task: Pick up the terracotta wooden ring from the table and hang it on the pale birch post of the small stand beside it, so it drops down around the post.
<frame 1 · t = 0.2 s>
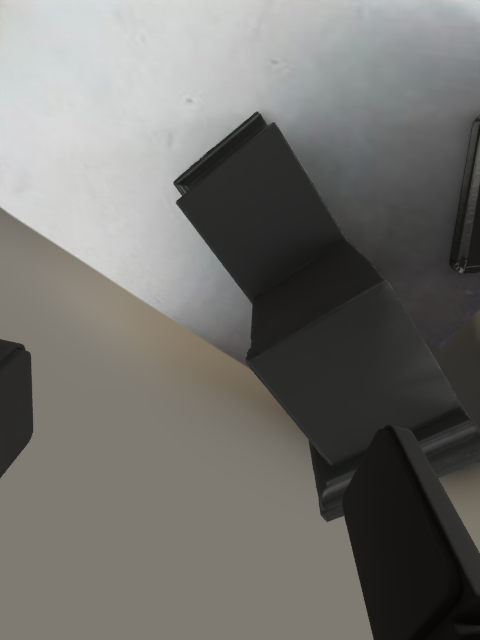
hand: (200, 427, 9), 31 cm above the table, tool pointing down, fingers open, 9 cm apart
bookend: (279, 243, 38), on the table
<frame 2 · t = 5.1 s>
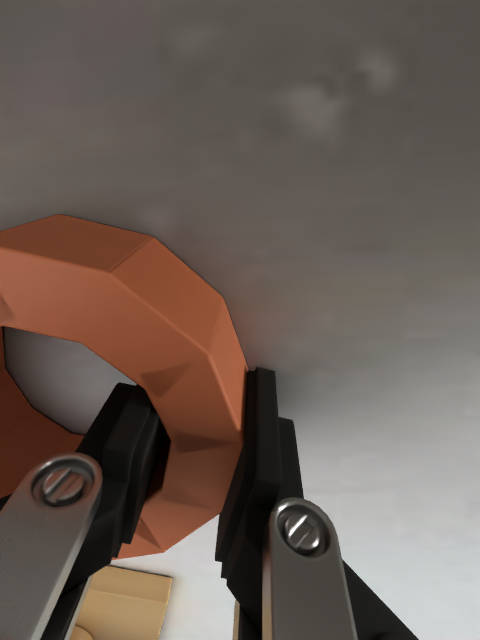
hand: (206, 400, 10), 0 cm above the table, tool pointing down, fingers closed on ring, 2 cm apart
ring: (98, 368, 11), on the table, touching gripper
ring stand: (77, 609, 17), on the table
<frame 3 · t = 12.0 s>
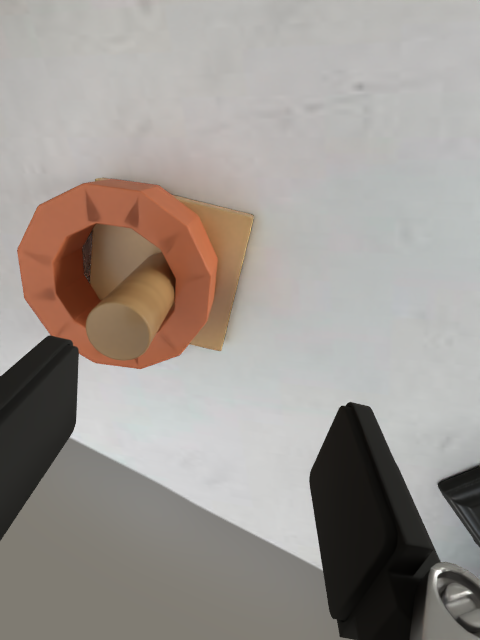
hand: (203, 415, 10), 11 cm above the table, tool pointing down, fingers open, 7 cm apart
ring: (135, 268, 19), point 1 cm above the table, touching ring stand
ring stand: (168, 268, 20), on the table
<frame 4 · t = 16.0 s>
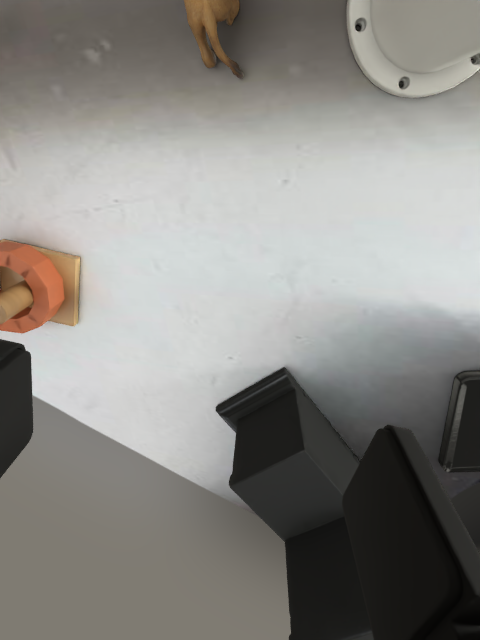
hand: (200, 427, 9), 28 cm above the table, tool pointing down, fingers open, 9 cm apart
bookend: (299, 444, 47), on the table
ring: (22, 283, 38), point 1 cm above the table, touching ring stand
ring stand: (42, 283, 39), on the table
phone: (478, 420, 44), on the table
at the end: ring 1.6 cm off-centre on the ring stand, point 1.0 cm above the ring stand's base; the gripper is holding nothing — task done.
